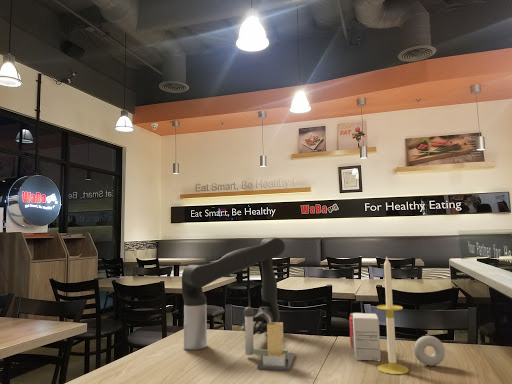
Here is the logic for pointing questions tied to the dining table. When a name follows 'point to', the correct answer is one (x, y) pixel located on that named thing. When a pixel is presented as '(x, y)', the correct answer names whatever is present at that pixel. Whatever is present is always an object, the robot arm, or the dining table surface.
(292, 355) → the base
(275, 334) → the brass block
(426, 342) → the donut
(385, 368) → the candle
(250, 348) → the sliding jaw
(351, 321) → the soda can
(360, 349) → the supplement box
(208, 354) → the dining table surface
